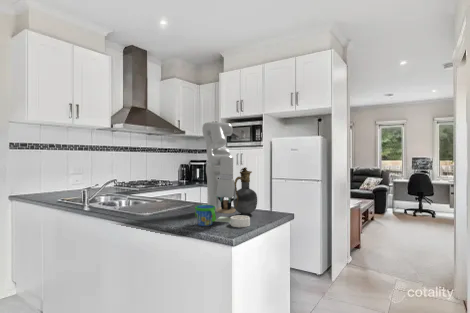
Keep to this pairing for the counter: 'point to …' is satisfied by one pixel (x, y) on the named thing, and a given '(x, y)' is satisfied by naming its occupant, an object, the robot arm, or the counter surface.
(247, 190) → the pitcher
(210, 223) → the snack cup
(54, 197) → the counter surface
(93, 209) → the counter surface
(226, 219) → the mat
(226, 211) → the lid
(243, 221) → the bowl
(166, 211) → the counter surface
